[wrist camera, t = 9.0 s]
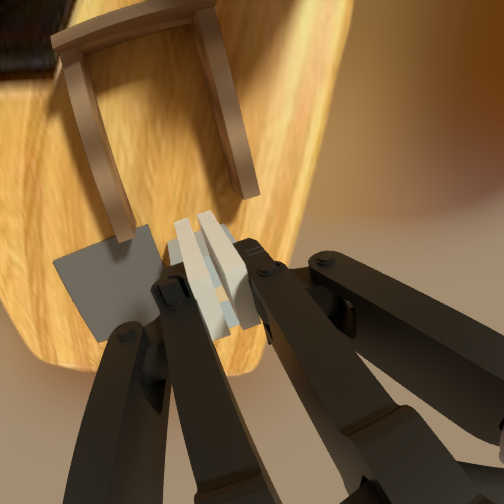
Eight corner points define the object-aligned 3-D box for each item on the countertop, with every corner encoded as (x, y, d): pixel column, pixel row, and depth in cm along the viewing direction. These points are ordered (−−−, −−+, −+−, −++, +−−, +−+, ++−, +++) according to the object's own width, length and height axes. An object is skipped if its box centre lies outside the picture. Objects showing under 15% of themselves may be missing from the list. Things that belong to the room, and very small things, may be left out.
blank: (166, 241, 31) (170, 268, 26) (224, 222, 32) (239, 245, 27) (190, 305, 35) (199, 338, 29) (242, 287, 36) (258, 317, 30)
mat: (53, 260, 28) (52, 262, 28) (147, 224, 30) (147, 225, 29) (98, 340, 33) (98, 342, 33) (183, 312, 35) (183, 313, 34)
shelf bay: (68, 51, 20) (50, 36, 15) (203, 10, 23) (215, -14, 17) (122, 228, 29) (116, 252, 24) (247, 185, 31) (268, 200, 26)
